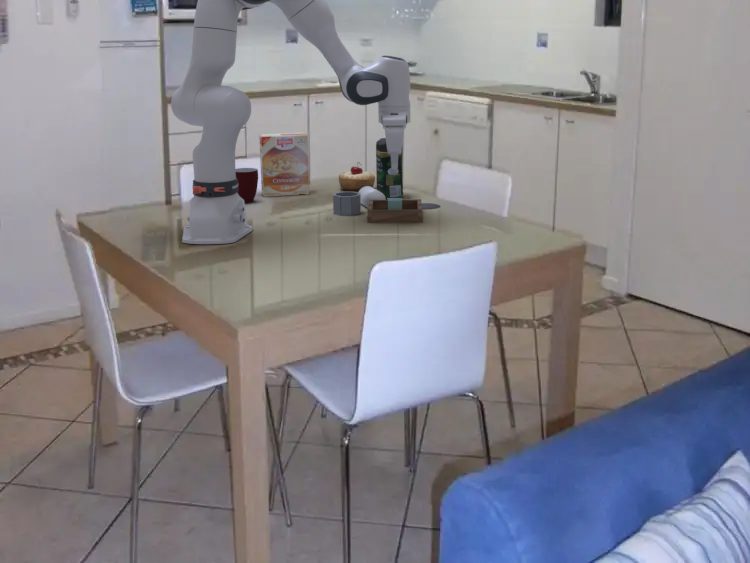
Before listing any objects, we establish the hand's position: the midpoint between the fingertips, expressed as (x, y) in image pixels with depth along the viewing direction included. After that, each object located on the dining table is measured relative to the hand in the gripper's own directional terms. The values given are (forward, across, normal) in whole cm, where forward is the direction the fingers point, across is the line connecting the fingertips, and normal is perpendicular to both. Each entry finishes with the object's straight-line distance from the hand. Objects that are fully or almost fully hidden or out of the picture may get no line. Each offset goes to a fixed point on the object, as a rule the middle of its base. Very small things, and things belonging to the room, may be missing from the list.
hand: (394, 165), depth 257 cm
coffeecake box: (+15, -38, -36) cm, 55 cm away
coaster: (+15, -14, +9) cm, 23 cm away
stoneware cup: (+15, -6, -14) cm, 21 cm away
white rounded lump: (+14, -16, -5) cm, 21 cm away
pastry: (+15, -45, -13) cm, 49 cm away
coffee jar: (+15, -32, -2) cm, 36 cm away
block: (+14, 0, 0) cm, 14 cm away
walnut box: (+15, 0, 0) cm, 15 cm away
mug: (+15, -26, -48) cm, 57 cm away
